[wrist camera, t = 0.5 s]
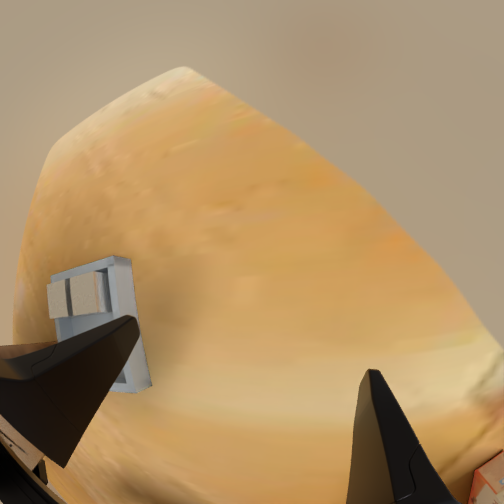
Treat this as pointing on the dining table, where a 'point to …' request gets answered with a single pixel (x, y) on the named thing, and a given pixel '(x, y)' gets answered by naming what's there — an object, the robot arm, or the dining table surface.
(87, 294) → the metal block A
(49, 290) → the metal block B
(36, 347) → the walnut dowel
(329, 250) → the dining table surface
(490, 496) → the cracker box
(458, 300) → the dining table surface
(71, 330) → the parts tray
